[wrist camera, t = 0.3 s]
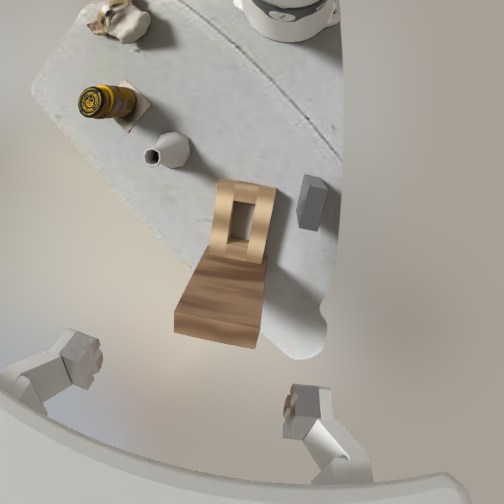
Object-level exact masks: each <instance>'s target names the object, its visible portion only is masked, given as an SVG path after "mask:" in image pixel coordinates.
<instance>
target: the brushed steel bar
mask: <svg viewBox="0 0 504 504" xmlns="http://www.w3.org/2000/svg"><path fill="white" fill-rule="evenodd" d="M327 192H328V189H327V187H326V186H325V184H324V183H323V181H322V180H321V178H318V177H314V176H309V175H305V174H304V178H303V183H302V187H301V192H300V196H299V201H298V205H297V209H296V212H297V218H298V224H299V228H302V229H307V230H312V231H318V227H319V224H320V220H321V216H322V212H323V208H324V204H325V200H326V197H327Z"/></svg>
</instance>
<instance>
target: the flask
mask: <svg viewBox="0 0 504 504" xmlns="http://www.w3.org/2000/svg"><path fill="white" fill-rule="evenodd" d="M190 153H191V152H190V145H189V138H188V137H186V136H184V135H182V134H180V133H178V132H176V131H173V132H168V133H162V134H161V135H160V137H159V139H158V141H157V143H156V145H155V147H153V148H148V149H146V150H145V152H144V155H143V160H144V164H146V165H148V166H149V167H155V166H159V164H162V165H164V166H166V167H168V168H176V167H182V166H184V165H185V163H186V161H187V159H188V157H189V155H190Z"/></svg>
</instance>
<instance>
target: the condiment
mask: <svg viewBox="0 0 504 504" xmlns="http://www.w3.org/2000/svg"><path fill="white" fill-rule="evenodd" d="M150 105H151V104H150V103H149V102H148V101H147V100H146V99H145V98H144V97H143V96H142V95H141V94H140V93H139V92H138V91H137V90H136V89H135V88H134V87H133V86H132V85H130V84H129V83H128V82H127V81H126V80H125V79H123V80H122V82H121V83H120V84H119V85H118V86H107V85H100V86H96V87H89V88H87V89H86V90H84V91H83V93H82V94H81V96H80V98H79V102H78V107H79V110H80V113H81V114H82V115H83V116H85V117H88V118H90V117H91V118H95V119H103V118H114V120H115V121H116V122H117V123H118V124H119V125H120V126H121V127H122V128H123V129H124V130H125V131H126V132H127V133H128V131H129V130H130V129H131V128H132V127H133V125H134V124H135V123H136V122H137V121H138V119H139V118H140V117H141V116H142V115H143V113H144V112H145V111H146V110H147V109H148V107H149V106H150Z"/></svg>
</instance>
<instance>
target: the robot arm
mask: <svg viewBox="0 0 504 504" xmlns="http://www.w3.org/2000/svg"><path fill="white" fill-rule="evenodd" d="M233 2H234V6H235V7H236V8H237V9H238V10H240V11H241V12H243V13H244V14H245V15H246V17H247V18H248V20H249V22H250V24H251V25H252V26H253V27H254V29H255V30H257V31H258V32H259V33H260V34H262V35H264V36H265V37H267V38H270V39H272V40H276V41H280V42H299V41H303V40H306V39H309V38H311V37H313V36H314V35H316V34H317V33H318V32H320V31H321V30H322V29H323V28H325V27H329V26H332V25H335V24H338V23H339V21H340V7H339V0H234V1H233ZM333 12H335V14H333ZM99 346H100V342H99V339H97V338H94V337H91V336H89V335H86V334H83V333H81V332H78V331H76V330H73V329H71V328H69V329H67V330H66V331H65V332H64V333H63V335H62V336H61V337H60V338H59V340H58V341H57V342H56V343H55V344H54V346H53V347H52V349H51V350H50V351H48V350H46V351H43V352H41V353H38V354H36V355H33V356H31V357H28V358H26V359H24V360H21V361H19V362H16V363H14V364H11V365H9V366H7V367H6V369H5V370H4V371H3V372H2V374H1V375H0V504H471V499H470V495H469V492H468V490H467V488H465V486H464V485H463V484H461V483H460V482H459V481H458V480H457V479H456V478H455V477H453V476H452V475H451V474H449V473H448V472H437V473H433V474H428V475H423V476H417V477H411V478H405V479H399V480H392V481H391V480H390V481H382V482H373V476H372V469H371V462H370V457H369V455H368V454H367V453H366V452H365V451H364V450H363V449H362V447H361V446H360V445H359V444H358V443H357V442H356V441H355V439H354V438H353V437H352V436H351V435H350V434H349V432H348V431H347V430H346V429H345V428H344V427H343V425H342V424H341V423H340V422H339V421H338V420H335V419H334V413H333V406H332V405H333V404H332V396H331V390H330V388H329V387H318V386H310V385H300V384H293V385H292V386H291V389H290V395H288V396H287V398H286V401H285V405H284V411H283V412H284V413H283V416H284V417H285V419H286V420H285V422H284V424H283V438H286V439H294V440H303V443H304V444H305V446H306V447H307V449H308V451H309V452H310V454H311V456H312V457H313V459H314V460H315V462H316V464H317V465H318V467H319V468H320V470H321V473H320V474H318V475H317V476H316V477H315V478H314V479H313V480H312V481H311V485H307V484H303V485H302V484H285V483H284V484H283V483H272V482H261V481H251V480H244V479H237V478H231V477H225V476H218V475H213V474H208V473H203V472H198V471H193V470H189V469H185V468H181V467H177V466H173V465H169V464H165V463H162V462H159V461H155V460H152V459H148V458H145V457H142V456H139V455H136V454H133V453H130V452H127V451H124V450H121V449H119V448H116V447H113V446H111V445H108V444H106V443H103V442H100V441H98V440H96V439H93V438H91V437H89V436H86V435H84V434H82V433H80V432H78V431H75V430H73V429H71V428H69V427H67V426H65V425H63V424H61V423H59V422H57V421H55V420H53V419H51V418H49V417H47V414H48V413H47V410H46V408H45V407H44V405H43V402H45V401H46V400H48V399H50V398H51V397H53V396H55V395H56V394H58V393H59V392H61V391H62V390H64V389H66V388H68V387H69V386H71V385H72V384H74V385H76V386H79V387H81V388H84V389H86V390H88V389H89V387H90V385H91V384H92V382H93V380H94V376H93V374H95V373H98V372H99V370H100V368H101V366H102V362H103V355H102V352H101V351H100V349H99Z"/></svg>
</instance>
